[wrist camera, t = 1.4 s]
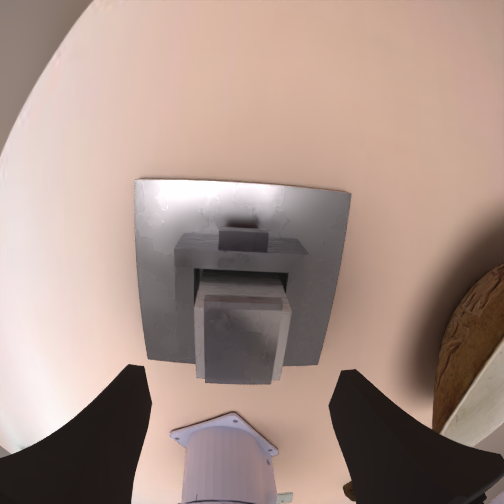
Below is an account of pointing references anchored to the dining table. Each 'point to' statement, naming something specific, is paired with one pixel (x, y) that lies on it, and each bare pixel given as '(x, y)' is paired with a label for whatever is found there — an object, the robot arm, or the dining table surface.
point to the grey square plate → (236, 254)
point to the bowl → (472, 365)
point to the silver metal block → (240, 327)
